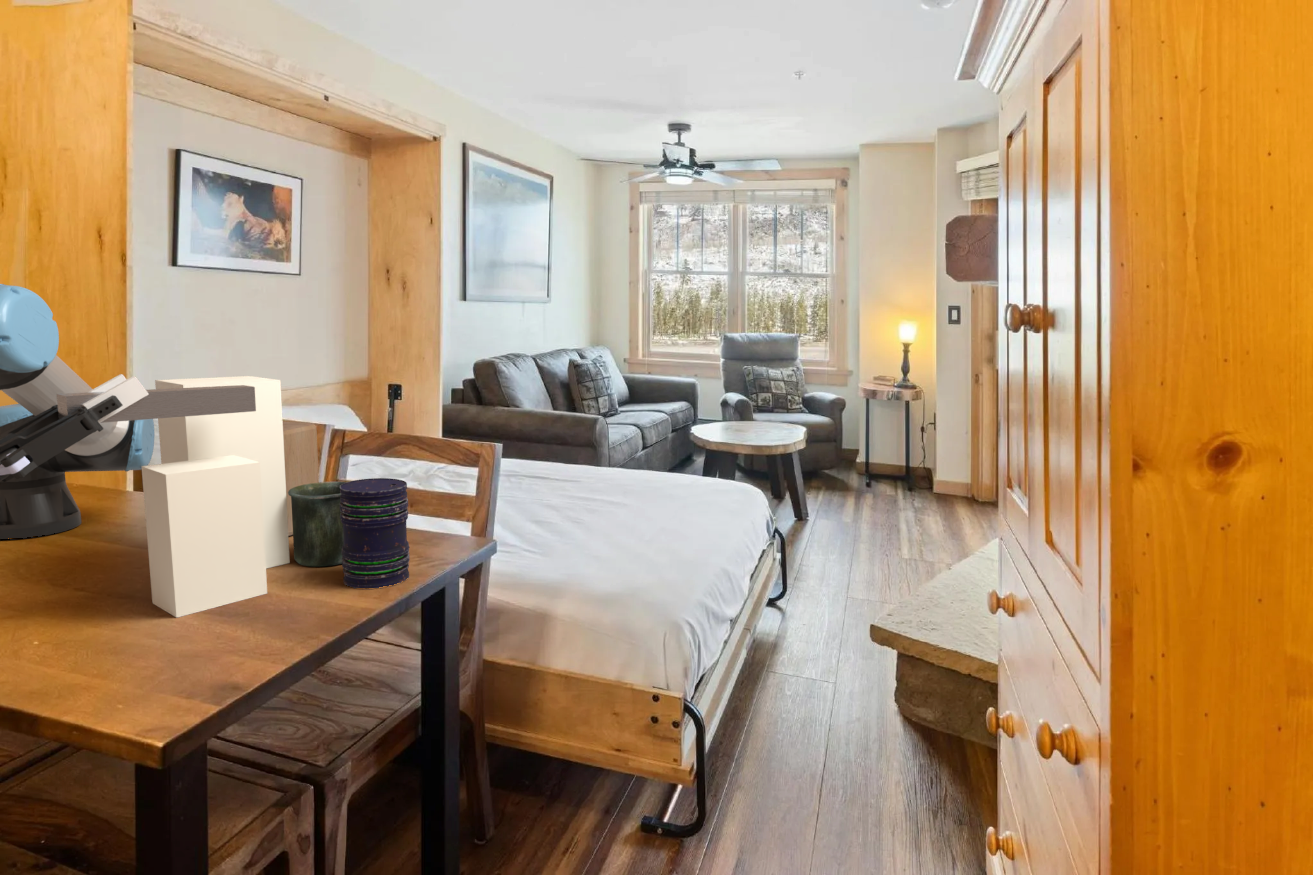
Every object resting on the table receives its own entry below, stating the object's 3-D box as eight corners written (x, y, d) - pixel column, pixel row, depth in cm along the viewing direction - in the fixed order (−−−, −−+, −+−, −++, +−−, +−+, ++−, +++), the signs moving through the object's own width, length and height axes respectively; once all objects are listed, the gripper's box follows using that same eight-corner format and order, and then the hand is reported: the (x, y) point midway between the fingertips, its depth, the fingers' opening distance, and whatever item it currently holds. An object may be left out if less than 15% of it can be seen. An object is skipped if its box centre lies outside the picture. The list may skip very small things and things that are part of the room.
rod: (59, 422, 93) (56, 393, 92) (244, 409, 110) (243, 385, 110) (68, 425, 91) (66, 396, 90) (255, 411, 108) (254, 386, 108)
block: (288, 538, 137) (282, 429, 134) (240, 534, 139) (233, 426, 136) (323, 524, 147) (318, 422, 144) (277, 520, 149) (272, 419, 146)
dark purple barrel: (335, 590, 112) (331, 492, 110) (350, 569, 122) (346, 478, 120) (405, 588, 114) (402, 491, 112) (414, 567, 124) (412, 477, 121)
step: (152, 603, 106) (141, 466, 103) (241, 581, 115) (233, 455, 112) (176, 617, 101) (165, 474, 98) (267, 593, 110) (259, 462, 107)
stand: (169, 570, 119) (155, 380, 114) (260, 550, 130) (250, 376, 125) (197, 585, 113) (183, 384, 108) (289, 562, 124) (280, 380, 120)
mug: (276, 561, 125) (272, 490, 123) (349, 540, 137) (346, 475, 135) (321, 573, 120) (318, 499, 118) (392, 549, 132) (390, 482, 131)
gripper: (-61, 512, 90) (128, 403, 104) (-24, 538, 80) (179, 413, 94) (-112, 462, 86) (92, 356, 100) (-80, 483, 76) (141, 362, 90)
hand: (134, 384), depth 97 cm, fingers closed on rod, 3 cm apart
